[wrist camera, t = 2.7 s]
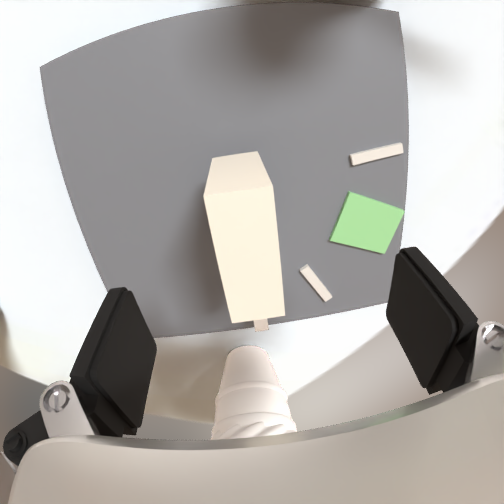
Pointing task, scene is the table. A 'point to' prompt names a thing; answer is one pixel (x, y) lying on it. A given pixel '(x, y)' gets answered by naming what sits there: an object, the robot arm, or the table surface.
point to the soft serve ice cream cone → (250, 398)
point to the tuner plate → (238, 152)
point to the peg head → (245, 237)
